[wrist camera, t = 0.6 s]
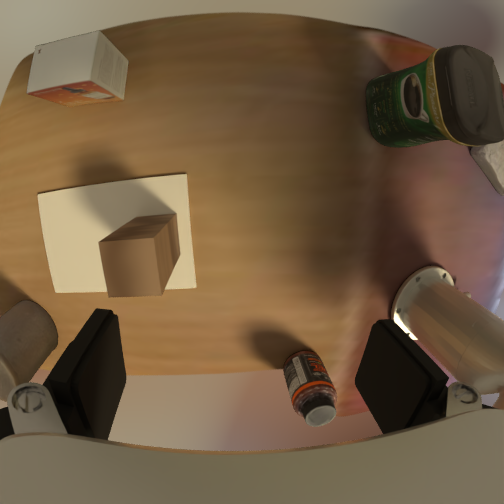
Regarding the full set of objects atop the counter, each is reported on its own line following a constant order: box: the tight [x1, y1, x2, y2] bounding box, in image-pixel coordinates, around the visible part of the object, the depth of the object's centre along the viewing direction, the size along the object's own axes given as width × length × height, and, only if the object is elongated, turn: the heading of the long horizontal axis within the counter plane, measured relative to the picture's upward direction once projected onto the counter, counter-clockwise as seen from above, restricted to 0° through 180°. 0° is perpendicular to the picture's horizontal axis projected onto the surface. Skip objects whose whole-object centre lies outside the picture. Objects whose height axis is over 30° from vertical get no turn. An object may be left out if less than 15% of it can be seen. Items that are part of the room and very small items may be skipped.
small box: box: [27, 30, 129, 107], centre depth 24 cm, size 8×6×10 cm
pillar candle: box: [0, 300, 58, 402], centre depth 30 cm, size 10×10×15 cm
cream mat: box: [38, 174, 197, 293], centre depth 35 cm, size 21×14×1 cm, turn 92°
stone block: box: [470, 140, 504, 196], centre depth 35 cm, size 12×5×10 cm
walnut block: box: [98, 213, 180, 297], centre depth 29 cm, size 5×5×12 cm
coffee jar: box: [366, 45, 504, 148], centre depth 25 cm, size 10×8×19 cm
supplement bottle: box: [283, 351, 337, 427], centre depth 37 cm, size 6×6×11 cm
